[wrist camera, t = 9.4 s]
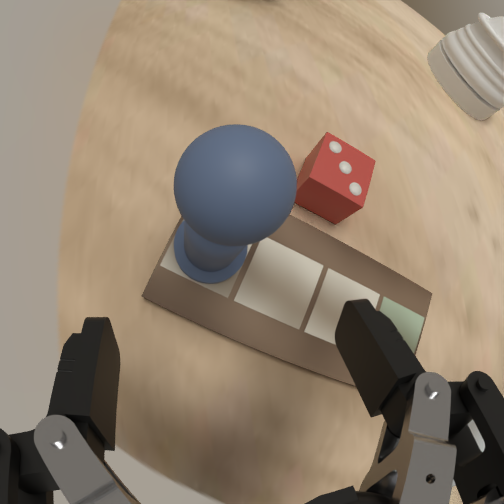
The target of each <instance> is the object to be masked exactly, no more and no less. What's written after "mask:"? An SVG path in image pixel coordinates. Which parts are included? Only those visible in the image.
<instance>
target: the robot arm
mask: <svg viewBox="0 0 504 504" xmlns="http://www.w3.org/2000/svg"><path fill="white" fill-rule="evenodd" d="M335 343H336V346H337V348H338V350H339V352H340V354H341V357H342V359H343V361H344V363H345V365H346V367H347V369H348V371H349V373H350V375H351V377H352V379H353V381H354V383H355V385H356V387H357V389H358V391H359V393H360V396H361V398H362V400H363V402H364V404H365V406H366V408H367V410H368V412H369V414H370V417H374V416H377V415H380V414H382V415H383V417H384V419H385V421H384V423H383V427H382V431H381V435H380V438H379V442H378V446H377V449H376V453H375V456H374V460H373V463H372V466H371V468H370V470H369V472H368V473H367V475H366V476H365V478H364V480H363V482H362V484H361V486H360V489H359V491H355V489H354V487H353V486H350V487H347V488H344V489H341V490H338V491H335V492H331V493H328V494H324V495H321V496H318V497H316V498H315V499H313V500H311V501H309V502H307V503H305V504H449V500H450V495H451V489H452V483H453V479H454V482H455V484H456V487H457V489H458V491H459V494H460V496H461V499H462V502H463V504H504V398H503V396H502V395H501V393H500V391H499V390H498V388H497V386H496V385H495V383H494V382H493V380H492V379H491V378H490V377H489V376H488V375H487V374H485V373H483V372H480V371H474V372H472V373H471V374H470V375H469V376H468V377H467V378H466V380H465V381H464V382H447V381H446V380H445V379H444V378H443V377H442V376H441V375H439V374H437V373H433V372H426V371H425V370H424V369H423V367H422V366H421V364H420V362H419V361H418V359H417V358H416V356H415V355H414V353H413V352H412V350H411V349H410V347H409V346H408V344H407V343H406V341H405V340H403V337H402V335H401V334H400V332H398V329H397V328H396V326H395V325H394V324H393V322H392V321H391V319H390V318H388V317H387V316H386V315H384V314H383V313H382V312H381V311H376V310H375V308H374V307H373V305H372V304H371V302H370V301H369V300H368V299H357V300H349V301H346V302H345V304H344V306H343V309H342V312H341V315H340V318H339V321H338V324H337V327H336V330H335ZM119 372H120V353H119V348H118V345H117V342H116V339H115V335H114V332H113V329H112V326H111V322H110V320H109V318H108V317H87V318H86V319H85V321H84V324H83V328H82V332H81V333H73V334H72V335H71V336H70V337H69V339H68V340H67V341H66V343H65V344H64V346H63V350H62V353H61V357H60V361H59V365H58V372H57V373H56V377H55V381H54V386H53V391H52V395H51V400H50V405H49V410H48V414H47V416H46V418H44V419H42V420H41V421H40V422H39V423H38V425H37V426H36V428H35V429H34V430H31V431H28V432H22V433H17V434H11V435H8V434H6V433H5V432H4V431H3V430H2V429H0V504H54V503H53V491H54V490H60V489H61V491H62V492H63V494H64V496H65V497H66V499H67V500H68V502H69V503H70V504H141V503H140V502H139V501H138V500H137V499H136V498H135V497H134V495H132V493H131V492H130V491H129V490H128V488H127V487H126V486H125V485H124V484H123V483H122V481H121V480H120V479H119V478H118V476H117V475H116V474H115V473H114V471H113V470H112V469H111V468H110V466H109V465H108V464H107V462H106V461H105V460H104V452H105V450H111V451H114V450H115V427H116V409H117V395H118V383H119ZM472 420H473V421H474V422H475V424H476V426H477V428H478V430H479V432H480V434H481V436H482V438H483V440H484V443H485V449H484V451H483V452H482V451H481V450H480V448H479V446H478V444H477V442H476V440H475V438H474V436H473V434H472V432H471V430H470V428H469V426H468V423H469V422H471V421H472Z"/></svg>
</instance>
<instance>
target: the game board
mask: <svg viewBox="0 0 504 504" xmlns="http://www.w3.org/2000/svg"><path fill="white" fill-rule="evenodd" d="M183 221H184V219H183V217H182V216H181V218H180V220H179V222H178V224H177V226H176V228H175V230H174V232H173V234H172V235H171V237H170V239H169V241H168V243H167V245H166V247H165V249H164V251H163V253H162V255H161V257H160V259H159V261H158V263H157V265H156V267H155V269H154V271H153V273H152V275H151V278H150V280H149V282H148V284H147V286H146V288H145V290H144V292H143V294H142V297H144V298H146V299H148V300H150V301H152V302H154V303H156V304H158V305H160V306H162V307H164V308H166V309H168V310H170V311H172V312H174V313H176V314H178V315H180V316H182V317H185V318H187V319H189V320H191V321H193V322H195V323H197V324H200V325H202V326H204V327H206V328H208V329H211V330H213V331H215V332H217V333H220V334H222V335H224V336H226V337H229V338H231V339H233V340H236V341H238V342H240V343H243V344H245V345H247V346H250V347H252V348H255V349H257V350H260V351H262V352H264V353H267V354H269V355H272V356H274V357H277V358H279V359H282V360H285V361H287V362H290V363H292V364H295V365H298V366H300V367H303V368H306V369H308V370H311V371H314V372H316V373H319V374H322V375H325V376H328V377H330V378H333V379H336V380H339V381H342V382H345V383H348V384H351V385H354V386H356V385H355V383H354V381H353V379H352V377H351V375H350V373H349V371H348V369H347V367H346V365H345V363H344V361H343V359H342V357H341V354H340V352H339V350H338V348H337V346H336V343H335V330H336V327H337V324H338V321H339V318H340V315H341V312H342V309H343V306H344V304H345V302H346V301H349V300H357V299H368V300H369V301H370V302H371V304H372V305H373V307H374V308H375V310H376V311H381V312H382V313H383V314H384V315H386V316H387V317H388V318H390V319H391V321H392V322H393V324H394V325H395V326H396V328H397V329H398V332H400V334H401V335H402V337H403V340H405V341H406V343H407V344H408V346H409V347H410V349H411V350H412V352H413V353H414V355H415V354H416V351H417V347H418V344H419V341H420V338H421V334H422V331H423V327H424V324H425V320H426V316H427V312H428V308H429V304H430V300H431V296H432V293H431V292H429V291H427V290H426V289H424V288H422V287H421V286H419V285H417V284H416V283H414V282H412V281H410V280H409V279H407V278H405V277H404V276H402V275H400V274H398V273H397V272H395V271H393V270H391V269H390V268H388V267H386V266H384V265H383V264H381V263H379V262H377V261H375V260H374V259H372V258H370V257H368V256H366V255H365V254H363V253H361V252H359V251H357V250H356V249H354V248H352V247H350V246H348V245H346V244H345V243H343V242H341V241H339V240H337V239H335V238H333V237H332V236H330V235H328V234H326V233H324V232H322V231H320V230H318V229H317V228H315V227H313V226H311V225H309V224H307V223H305V222H303V221H301V220H299V219H297V218H295V217H293V216H291V215H290V214H289V216H288V217H287V219H286V220H285V222H284V223H283V224H282V225H281V226H280V228H279V229H278V230H277V231H275V232H274V233H273V234H272V235H270V236H268V237H267V238H265V239H263V240H261V241H259V242H257V243H254V244H250V245H248V248H247V255H246V258H245V261H244V263H243V265H242V266H241V268H240V269H239V270H238V271H237V272H236V273H235V274H234V275H233V276H231V277H230V278H228V279H227V280H225V281H223V282H219V283H215V284H205V283H200V282H197V281H195V280H193V279H191V278H190V277H188V276H187V275H186V274H185V273H184V272H183V271H182V270H181V269H180V267H179V265H178V263H177V261H176V258H175V253H174V238H175V234H176V232H177V229H178V227H179V226H180V224H181V223H182V222H183Z"/></svg>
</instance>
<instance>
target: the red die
mask: <svg viewBox="0 0 504 504" xmlns="http://www.w3.org/2000/svg"><path fill="white" fill-rule="evenodd" d="M374 165H375V160H373V159H372V158H370V157H369V156H367V155H365V154H364V153H362V152H361V151H359V150H357V149H356V148H354V147H352V146H351V145H349V144H347V143H346V142H344V141H342V140H340V139H339V138H337V137H335V136H333V135H332V134H330V133H328V132H326V134H325V135H324V136H323V137H322V139H321V140H320V141H319V142H318V144H317V145H316V146H315V148H314V149H313V150H312V151H311V153H310V154H309V155H308V156H307V158H306V160H305V162H304V164H303V167H302V169H301V171H300V174H299V176H298V179H297V192H296V198H295V202H294V203H296V204H298V205H300V206H302V207H304V208H306V209H308V210H310V211H312V212H313V213H315V214H317V215H319V216H321V217H323V218H325V219H326V220H328V221H330V222H332V223H334V224H337V223H339V222H340V221H342V220H344V219H345V218H347V217H348V216H350V215H351V214H353V213H355V212H356V211H358V210H359V209H361V208H363V206H364V202H365V199H366V195H367V191H368V188H369V184H370V180H371V177H372V173H373V169H374Z"/></svg>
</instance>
